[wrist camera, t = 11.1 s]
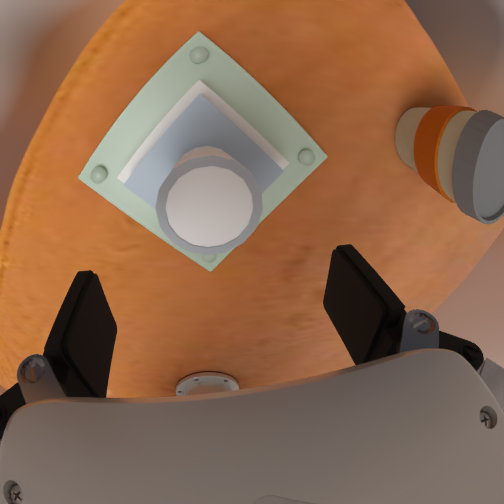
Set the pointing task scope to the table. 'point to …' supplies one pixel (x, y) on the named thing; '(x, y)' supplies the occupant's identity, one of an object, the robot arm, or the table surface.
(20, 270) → the table surface
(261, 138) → the stepped tiered stack
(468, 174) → the reusable coffee cup
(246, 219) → the white tapered cup
